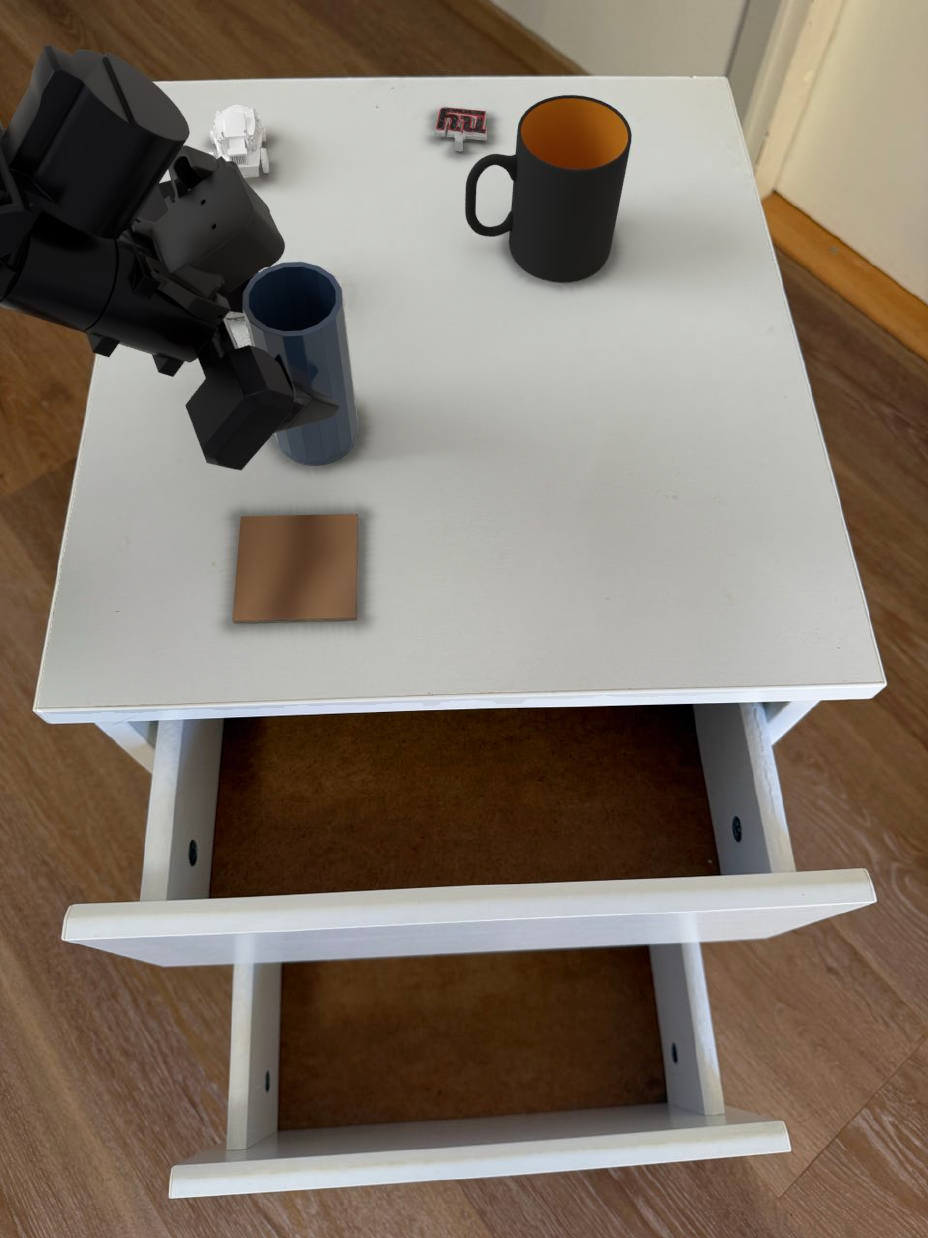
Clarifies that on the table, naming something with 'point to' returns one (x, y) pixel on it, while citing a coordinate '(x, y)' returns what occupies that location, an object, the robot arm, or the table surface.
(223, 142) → the toy car
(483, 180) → the table surface
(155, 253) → the robot arm
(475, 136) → the pendant
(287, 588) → the cork coaster
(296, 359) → the cup
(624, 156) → the mug
